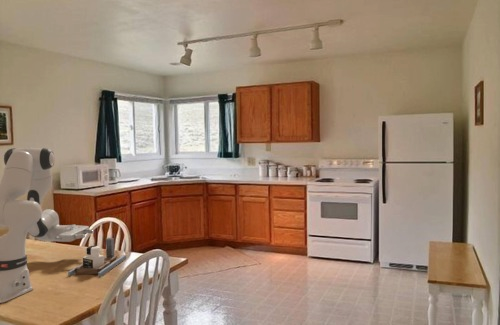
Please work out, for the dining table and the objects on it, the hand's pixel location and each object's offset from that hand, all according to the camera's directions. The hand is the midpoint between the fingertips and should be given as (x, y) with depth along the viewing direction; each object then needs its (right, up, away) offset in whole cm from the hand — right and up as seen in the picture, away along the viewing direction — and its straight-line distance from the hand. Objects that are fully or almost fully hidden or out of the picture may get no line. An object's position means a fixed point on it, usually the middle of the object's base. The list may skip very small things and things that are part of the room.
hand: (88, 233), depth 213 cm
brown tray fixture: (+11, -14, -12) cm, 22 cm away
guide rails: (+11, -14, -13) cm, 22 cm away
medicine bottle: (+10, -15, -19) cm, 26 cm away
